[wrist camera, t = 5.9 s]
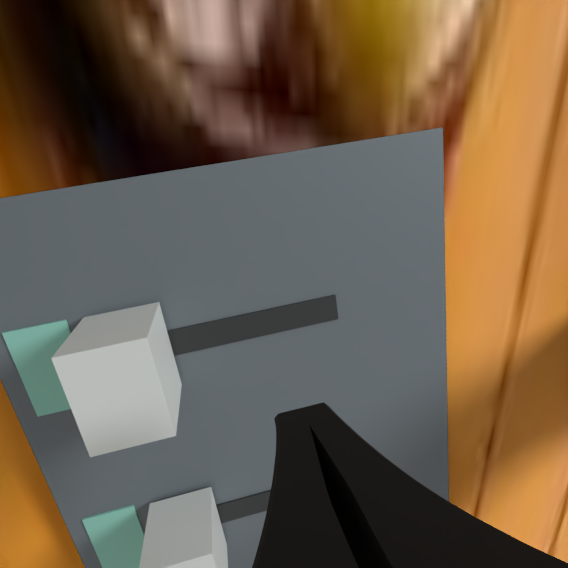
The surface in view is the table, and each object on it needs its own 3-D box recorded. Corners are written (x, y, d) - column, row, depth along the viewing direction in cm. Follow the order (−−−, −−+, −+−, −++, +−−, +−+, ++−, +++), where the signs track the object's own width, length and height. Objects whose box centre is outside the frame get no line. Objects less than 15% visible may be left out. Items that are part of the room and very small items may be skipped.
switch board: (429, 129, 17) (444, 127, 16) (440, 524, 25) (450, 539, 24) (-58, 207, 15) (-78, 210, 14) (122, 622, 22) (118, 645, 21)
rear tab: (211, 486, 19) (211, 553, 16) (226, 544, 20) (230, 617, 17) (149, 503, 19) (137, 575, 16) (169, 561, 20) (162, 638, 17)
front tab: (159, 301, 16) (147, 337, 13) (181, 384, 17) (176, 435, 14) (83, 317, 16) (51, 358, 12) (112, 400, 17) (90, 457, 14)
